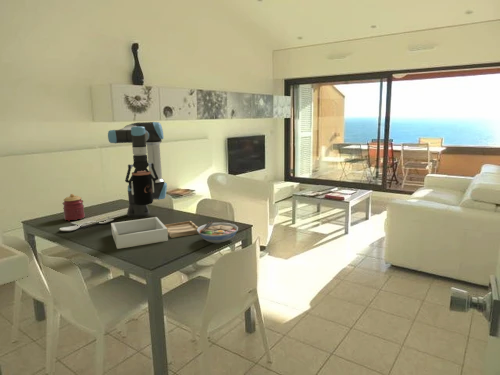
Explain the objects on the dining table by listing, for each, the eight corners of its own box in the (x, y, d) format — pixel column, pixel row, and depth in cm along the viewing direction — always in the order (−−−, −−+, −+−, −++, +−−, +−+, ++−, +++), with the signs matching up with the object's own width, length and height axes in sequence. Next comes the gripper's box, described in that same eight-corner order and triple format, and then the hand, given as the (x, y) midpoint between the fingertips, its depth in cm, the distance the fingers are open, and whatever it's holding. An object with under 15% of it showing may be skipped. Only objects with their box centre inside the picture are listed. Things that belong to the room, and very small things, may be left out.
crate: (112, 234, 217) (111, 223, 215) (157, 227, 228) (156, 217, 227) (117, 248, 193) (116, 236, 192) (167, 240, 204) (167, 228, 203)
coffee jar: (147, 206, 202) (145, 174, 199) (130, 205, 205) (127, 173, 201) (156, 201, 212) (154, 170, 209) (140, 200, 215) (137, 170, 211)
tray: (162, 228, 226) (162, 224, 226) (191, 224, 234) (190, 220, 233) (170, 238, 209) (170, 234, 208) (200, 233, 216) (200, 229, 216)
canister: (83, 215, 261) (81, 191, 258) (86, 219, 250) (83, 194, 247) (63, 218, 254) (60, 193, 251) (65, 222, 244) (62, 196, 240)
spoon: (114, 223, 241) (114, 218, 240) (62, 234, 219) (61, 229, 219) (109, 220, 247) (108, 215, 246) (57, 231, 226) (57, 226, 225)
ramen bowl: (233, 250, 188) (232, 235, 186) (191, 248, 192) (190, 233, 190) (242, 234, 212) (242, 221, 211) (204, 233, 216) (204, 219, 215)
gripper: (118, 156, 195) (122, 196, 199) (162, 153, 204) (164, 192, 209) (117, 155, 202) (121, 194, 206) (159, 152, 211) (162, 189, 215)
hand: (143, 193), depth 207 cm, fingers closed on coffee jar, 11 cm apart
